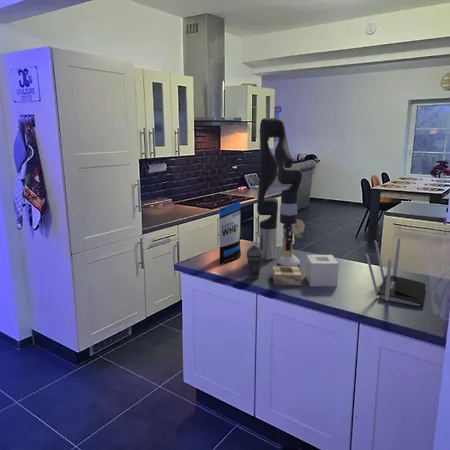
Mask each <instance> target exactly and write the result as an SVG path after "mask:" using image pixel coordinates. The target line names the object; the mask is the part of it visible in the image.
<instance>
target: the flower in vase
mask: <svg viewBox="0 0 450 450" xmlns="http://www.w3.org/2000/svg"><path fill="white" fill-rule="evenodd" d="M292 228H293V236H292V240H293V243H294V242H295V241H296V240H295V239H294V237H296V238H297V239H300V238H303V234H301V233H303V232H304V230H305V228H306V225H305V223H304V221H303V220H302V219H300V218H299V219H298V218H297V223H295V224H292ZM277 262H278V265H279V266H298V267H299V266H300V264H301V261H300V260H299V258H298V257H297V256H295V255H294V254H293V253H292V257H283V255H282V256H281V257H280V258H279V259H278V261H277Z"/></svg>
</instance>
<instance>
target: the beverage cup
mask: <svg viewBox="0 0 450 450" xmlns="http://www.w3.org/2000/svg"><path fill="white" fill-rule="evenodd" d="M257 242H258V237H256V238H255V243H254V245H252V246H250V247H249V248H248V249H247V252H246V258H247V267H248V277H249V279H251V280H257V279H259V278H260V277H259V276H260V269H261V268H260V267H261V260H262V259H261V256H262V253H261V250H260V248H259V246H257Z"/></svg>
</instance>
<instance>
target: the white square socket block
mask: <svg viewBox="0 0 450 450" xmlns="http://www.w3.org/2000/svg"><path fill="white" fill-rule="evenodd" d="M305 261H306V264H305V278H306V280H307V282H308V284H309V286H310V287H338V282H339V281H338V279H339V267H340V266H339V265H340V263H339V261H338V260H337V259H336V258H335V257H334V256H333V254H306V260H305Z"/></svg>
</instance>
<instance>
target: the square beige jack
mask: <svg viewBox="0 0 450 450" xmlns="http://www.w3.org/2000/svg"><path fill="white" fill-rule="evenodd" d="M271 274H272V280H273V284H274V286H278V287H280V286H281V287H282V286H283V287H284V286H285V287H286V286H287V285H288V286H292V285H293V287H294V286H295V285H297V286H298V285H301V286H302V282H303V281H302V272H301V271H300V269H299V265H298V266H282V265H272V273H271Z"/></svg>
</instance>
